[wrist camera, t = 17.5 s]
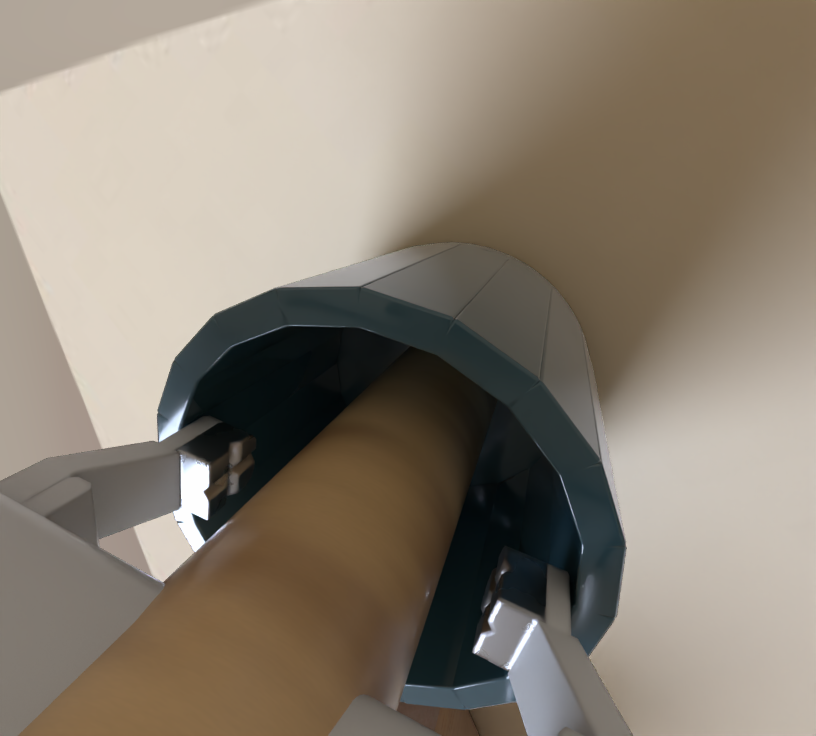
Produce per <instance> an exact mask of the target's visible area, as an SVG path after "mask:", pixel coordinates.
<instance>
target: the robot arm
mask: <svg viewBox="0 0 816 736" xmlns="http://www.w3.org/2000/svg"><path fill="white" fill-rule="evenodd" d="M255 449H256V438H255V437H254V436H253V435H251V434H249V433H247V432H245V431H242V430H240V429H238V428H236V427H234V426H232V425H230V424H227V423H225V422H222V421H220V420H218V419H216V418H214V417H212V416H210V415H209V416H203V417H201V418H199V419H198V420H196V421H194V422H192V423H191V424H189V425H187V426H186V427H184V428H182V429H181V430H179V431H177V432H176V433H174V434H172V435H170V436H169V437H167V438H165V439H164V440H162V441H160V442H159V443H158V442H155V441H149V442H143V443H136V444H130V445H124V446H118V447H112V448H106V449H101V450H94V451H87V452H81V453H76V454H69V455H63V456H57V457H51V458H46V459H44V460H42V461H40V462H38V463H36V464H34V465H32V466H30V467H28V468H26V469H24V470H22V471H19V472H18V473H15V474H13V475H11V476H9V477H7V478H5V479H3V480H1V481H0V736H18V735H19V734H20V733H21V732H22V731H23V730H24V729H25V728H26V727H27V726H28V725H29V724H30V723H31V722H32V721H33V720H34V719H35V718H36V717H37V716H38V715H39V714H41V713H42V712H43V711H44V710H45V709H46V708H47V707H48V706H49V705H50V704H51V703H52V702H53V701H54V700H55V699H56V698H57V697H58V696H59V695H60V694H61V693H62V692H63V691H64V690H65V689H66V688H67V687H68V686H69V685H70V684H71V683H72V682H73V681H75V680H76V679H77V678H78V677H79V676H80V675H81V674H82V673H83V672H84V671H85V670H86V669H87V668H88V667H89V666H90V665H91V664H92V663H93V662H94V661H95V660H96V659H97V658H98V657H99V656H100V655H101V654H102V653H103V652H104V651H105V650H106V649H107V648H109V647H110V646H111V645H112V644H113V643H114V642H115V641H116V640H117V639H118V638H119V637H120V636H121V635H122V634H123V633H124V632H125V631H126V630H127V629H128V628H129V627H130V626H131V625H132V624H133V623H134V622H135V621H136V620H137V619H138V618H139V616H140V615H141V614H142V613H143V612H144V611H145V609H146V608H147V607H148V606H149V605H150V603H151V602H152V601H153V600H154V599H155V598H156V597H157V595H158V594H159V593H160V592H161V591H162V590H163V588H164V586H165V583H163V582H161V581H160V580H158V579H156V578H154V577H152V576H151V575H148V574H147V573H145V572H143V571H141V570H140V569H138V568H136V567H134V566H132V565H130V564H129V563H126V562H125V561H123V560H121V559H120V558H118V557H116V556H114V555H112V554H111V553H109V552H107V551H105V550H103V549H101V548H100V545H99V539H101V538H103V537H106V536H109V535H112V534H114V533H117V532H120V531H123V530H125V529H128V528H131V527H133V526H136V525H139V524H141V523H144V522H147V521H150V520H152V519H155V518H158V517H160V516H163V515H166V514H168V513H171V512H174V511H177V510H179V509H180V508H182V509H184V510H186V511H189V512H191V513H193V514H195V515H197V516H199V517H202V518H204V519H206V520H208V519H210V518H211V517H212V516H213V515H214V514H215V513H216V512H217V511H218V510H220V509H221V508H222V507H223V506H224V505H225V504H226V500H227V496H229V495H233V494H237V493H239V492H240V491H241V490H242V489H243V488H244V487H245V486H246V484H247V483H248V481H249V480H250V478H251V476H252V473H253V470H254V465H255V461H254V459H253V457H252V454H251V452H252V451H254V450H255ZM481 610H482V613H483V614H482V616H481V619H480V621H479V623H478V625H477V630H476V635H475V640H474V646H473V651H472V652H473V653H475V654H476V655H478V656H480V657H482V658H484V659H486V660H488V661H490V662H491V663H493V664H495V665H497V666H499V667H501V668H503V669H505V670H506V671H508V676H509V679H510V682H511V685H512V688H513V692H514V695H515V698H516V701H517V704H518V707H519V711H520V714H521V717H522V720H523V723H524V726H525V730H526V733H527V736H633V735H632V733H631V731H630V729H629V728H628V726H627V724H626V722H625V721H624V719H623V717H622V715H621V714H620V712H619V710H618V708H617V707H616V705H615V703H614V701H613V700H612V698H611V696H610V694H609V693H608V691H607V689H606V687H605V685H604V684H603V682H602V680H601V678H600V677H599V675H598V673H597V671H596V670H595V668H594V666H593V664H592V663H591V661H590V659H589V657H588V656H587V654H586V652H585V650H584V649H583V647H582V645H581V643H580V642H579V640H578V639H577V638H575V637H573V636H571V611H570V576H569V574H568V572H567V571H564V570H562V569H560V568H557V567H555V566H552V565H550V564H548V563H545V562H542V561H540V560H538V559H535V558H533V557H531V556H528V555H526V554H524V553H521V552H519V551H517V550H514V549H512V548H510V547H507V546H504V548H503V549H502V551H501V553H500V555H499V559H498V564H497V568H495V569H493V570H492V573H491V575H490V577H489V580H488V583H487V586H486V588H485V592H484V596H483V600H482V605H481ZM328 736H441V735H440V734H438V733H436V732H434V731H432V730H431V729H429V728H427V727H425V726H423V725H421V724H420V723H418V722H416V721H414V720H412V719H410V718H409V717H407V716H405V715H403V714H401V713H400V712H398V711H396V710H394V709H392V708H390V707H389V706H387V705H385V704H383V703H381V702H380V701H378V700H376V699H374V698H372V697H370V696H369V695H364V694H363V695H359V696H357V697H356V698H355V699H354V700H353V701H352V703H351V704H350V706H349V707H348V708H347V710H346V711H345V713H344V714H343V715H342V717H341V718H340V719H339V721H338V722H337V724H336V725H335V726H334V728H333V729H332V731H331V732H330V733H329V735H328Z"/></svg>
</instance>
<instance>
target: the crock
mask: <svg viewBox="0 0 816 736" xmlns="http://www.w3.org/2000/svg"><path fill="white" fill-rule="evenodd" d="M410 346H412V347H414V348H417V349H420V350H423V351H426V352H429V353H431V354H434V355H437V356H438V357H440V358H441V359H442V360H444V361H445V362H447V363H448V364H449V365H451V366H452V367H453V368H455V369H456V370H458V371H459V372H460V373H462V374H463V375H464V376H466V377H467V378H468V379H470V380H471V381H473V382H474V383H475V384H477V385H478V386H479V387H481V388H482V389H484V390H485V391H486V392H488V393H489V394H490V395H492V396H493V397H495V398H496V399H497V403H496V406H495V409H494V412H493V415H492V418H491V421H490V425H489V428H488V431H487V434H486V437H485V440H484V443H483V446H482V449H481V452H480V455H479V458H478V461H477V465H476V468H475V471H474V474H473V477H472V480H471V483H470V486H469V489H468V492H467V495H466V498H465V502H464V505H463V508H462V511H461V514H460V517H459V520H458V523H457V526H456V529H455V532H454V535H453V539H452V542H451V545H450V548H449V551H448V554H447V557H446V560H445V563H444V566H443V569H442V572H441V576H440V579H439V582H438V585H437V588H436V591H435V594H434V597H433V600H432V603H431V606H430V609H429V612H428V616H427V619H426V622H425V625H424V628H423V631H422V634H421V637H420V640H419V643H418V646H417V649H416V653H415V656H414V659H413V662H412V665H411V668H410V671H409V674H408V677H407V680H406V683H405V686H404V690H403V693H402V696H401V699H400V702H405V703H406V704H412V705H422V706H431V707H441V708H450V709H459V710H466V709H467V710H470V709H476V708H482V707H488V706H495V705H501V704H507V703H513V702H517V701H516V698H515V695H514V692H513V688H512V685H511V682H510V679H509V676H508V671H506V670H505V669H503V668H501V667H499V666H497V665H495V664H493V663H491V662H490V661H488V660H486V659H484V658H482V657H480V656H478V655H476V654H475V653H473V652H472V651H473V646H474V640H475V635H476V630H477V625H478V623H479V621H480V619H481V616H482V614H483V613H482V610H481V605H482V600H483V596H484V592H485V588H486V586H487V583H488V580H489V577H490V575H491V573H492V570H493V569H495V568H497V564H498V559H499V555H500V553H501V551H502V549H503V548H504V546H507V547H510V548H512V549H514V550H517V551H519V552H521V553H524V554H526V555H528V556H531V557H533V558H535V559H538V560H540V561H542V562H545V563H548V564H550V565H552V566H555V567H557V568H560V569H562V570H564V571H567V572H568V574H569V576H570V611H571V636H573V637H575V638H577V639H578V640H579V642H580V643H581V645H582V647H583V649H584V650H585V652H586V654H587V656H588V657H589V656H590V654H591V653H592V651H593V650H594V649H595V647H596V646H597V644H598V643H599V642H600V640H601V639H602V637H603V636H604V635H605V633H606V632H607V630H608V629H609V628H610V626H611V625H612V623H613V622H614V620H615V618H616V617H617V613H618V606H619V599H620V592H621V585H622V578H623V571H624V564H625V556H626V549H627V547H626V539H625V534H624V528H623V523H622V518H621V512H620V507H619V502H618V496H617V491H616V486H615V481H614V475H613V470H612V465H611V459H610V454H609V449H608V443H607V438H606V433H605V428H604V422H603V417H602V412H601V406H600V401H599V396H598V390H597V385H596V380H595V374H594V370H593V367H592V363H591V360H590V356H589V352H588V347H587V343H586V339H585V337H584V334H583V331H582V329H581V327H580V324H579V322H578V320H577V318H576V317H575V315H574V313H573V311H572V310H571V308H570V306H569V305H568V303H567V302H566V301H565V299H564V298H563V297H562V296H561V294H560V293H559V292H558V291H557V289H556V288H555V287H553V286H552V285H551V284H550V283H549V282H548V281H547V280H546V279H545V278H544V277H543V276H542V275H541V274H539V273H538V272H536V271H535V270H534V269H532V268H531V267H529V266H528V265H527V264H525V263H523V262H521V261H519V260H518V259H516V258H514V257H512V256H510V255H508V254H505V253H503V252H500V251H497V250H494V249H492V248H488V247H484V246H479V245H475V244H469V243H456V242H447V243H432V244H428V245H417V246H412V247H409V248H406V249H402V250H399V251H396V252H393V253H389V254H386V255H383V256H379V257H376V258H373V259H369V260H366V261H363V262H359V263H356V264H353V265H349V266H346V267H343V268H339V269H336V270H333V271H329V272H326V273H323V274H319V275H316V276H313V277H310V278H306V279H303V280H300V281H296V282H293V283H290V284H286V285H283V286H280V287H276V288H273V289H271V290H269V291H266V292H264V293H262V294H259V295H257V296H255V297H253V298H250V299H248V300H246V301H243V302H241V303H239V304H236V305H234V306H232V307H229V308H227V309H225V310H222V311H220V312H218V313H215V314H214V316H212V317H211V318H210V319H209V320H208V321H207V322H206V324H205V325H204V326H203V327H202V328H201V329H200V330H199V331H198V333H197V334H196V335H195V336H194V337H193V338H192V339H191V340H190V342H189V343H188V344H187V345H186V346H185V347H184V348H183V349H182V351H181V352H180V353H179V354H178V355H177V356H176V357H175V360H174V361H173V363H172V366H171V369H170V372H169V376H168V379H167V382H166V385H165V388H164V391H163V394H162V397H161V401H160V404H159V407H158V414H157V426H158V443H159V442H160V441H162V440H164V439H165V438H167V437H169V436H170V435H172V434H174V433H176V432H177V431H179V430H181V429H182V428H184V427H186V426H187V425H189V424H191V423H192V422H194V421H196V420H198V419H199V418H201V417H203V416H209V415H210V416H212V417H214V418H216V419H218V420H220V421H222V422H225V423H227V424H230V425H232V426H234V427H236V428H238V429H240V430H242V431H245V432H247V433H249V434H251V435H253V436H254V437H255V438H256V449H255V450H254V451H252V452H251V454H252V457H253V459H254V461H255V465H254V470H253V473H252V476H251V478H250V480H249V481H248V483H247V484H246V486H245V487H244V488H243V489H242V490H241V491H240V492H239V493H237V494H233V495H229V496H227V500H226V504H225V505H224V506H223V507H222V508H221V509H220V510H218V511H217V512H216V513H215V514H214V515H213V516H212V517H211V518H210V519H208V520H206V519H204V518H202V517H199V516H197V515H195V514H193V513H191V512H189V511H186V510H184V509H182V508H180V509H179V510H177V511H174V512H173V514H174V517H175V520H176V521H177V523H178V525H179V527H180V528H181V530H182V532H183V533H184V535H185V537H186V539H187V540H188V542H189V544H190V545H191V547H192V549H193V550H194V552H196V551H197V550H198V549H199V548H200V547H201V546H202V545H203V544H204V543H205V542H206V541H207V540H208V539H209V538H210V537H211V536H212V535H213V534H214V533H215V532H216V531H217V530H219V529H220V528H221V527H222V526H223V525H224V524H225V523H226V522H227V521H228V520H229V519H230V518H231V517H232V516H233V515H234V514H235V513H236V512H237V511H238V510H239V509H241V508H242V507H243V506H244V505H245V504H246V503H247V502H248V501H249V500H250V499H251V498H252V497H253V496H254V495H255V494H256V493H257V492H258V491H259V490H260V489H261V488H262V487H264V486H265V485H266V484H267V483H268V482H269V481H270V480H271V479H272V478H273V477H274V476H275V475H276V474H277V473H278V472H279V471H280V470H281V469H282V468H283V467H284V466H286V465H287V464H288V463H289V462H290V461H291V460H292V459H293V458H294V457H295V456H296V455H297V454H298V453H299V452H300V451H301V450H302V449H303V448H304V447H305V446H306V445H307V444H309V443H310V442H311V441H312V440H313V439H314V438H315V437H316V436H317V435H318V434H319V433H320V432H321V431H322V430H323V429H324V428H325V427H326V426H327V425H328V424H329V423H331V422H332V421H333V420H334V419H335V418H336V417H337V416H338V415H339V414H340V413H341V412H342V411H343V410H344V409H345V408H346V407H347V406H348V405H349V404H350V403H351V402H353V401H354V400H355V399H356V398H357V397H358V396H359V395H360V394H361V393H362V392H363V391H364V390H365V389H366V388H367V387H368V386H369V385H370V384H371V383H372V382H373V381H374V380H376V379H377V378H378V377H379V376H380V375H381V374H382V373H383V372H384V371H385V370H386V369H387V368H388V367H389V366H390V365H391V364H392V363H393V362H394V361H395V360H396V359H398V358H399V357H400V356H401V355H402V354H403V353H404V352H405V351H406V350H407V349H408V348H409V347H410Z"/></svg>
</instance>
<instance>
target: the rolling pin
mask: <svg viewBox="0 0 816 736" xmlns="http://www.w3.org/2000/svg"><path fill="white" fill-rule="evenodd" d="M496 403H497V399H496V398H495V397H493V396H492V395H490V394H489V393H488V392H486V391H485V390H484V389H482V388H481V387H479V386H478V385H477V384H475V383H474V382H473V381H471V380H470V379H468V378H467V377H466V376H464V375H463V374H462V373H460V372H459V371H458V370H456V369H455V368H453V367H452V366H451V365H449V364H448V363H447V362H445V361H444V360H442V359H441V358H440V357H438V356H437V355H434V354H431V353H429V352H426V351H423V350H420V349H417V348H414V347H412V346H410V347H409V348H408V349H407V350H406V351H405V352H404V353H403V354H402V355H401V356H400V357H399V358H398V359H396V360H395V361H394V362H393V363H392V364H391V365H390V366H389V367H388V368H387V369H386V370H385V371H384V372H383V373H382V374H381V375H380V376H379V377H378V378H377V379H376V380H374V381H373V382H372V383H371V384H370V385H369V386H368V387H367V388H366V389H365V390H364V391H363V392H362V393H361V394H360V395H359V396H358V397H357V398H356V399H355V400H354V401H353V402H351V403H350V404H349V405H348V406H347V407H346V408H345V409H344V410H343V411H342V412H341V413H340V414H339V415H338V416H337V417H336V418H335V419H334V420H333V421H332V422H331V423H329V424H328V425H327V426H326V427H325V428H324V429H323V430H322V431H321V432H320V433H319V434H318V435H317V436H316V437H315V438H314V439H313V440H312V441H311V442H310V443H309V444H307V445H306V446H305V447H304V448H303V449H302V450H301V451H300V452H299V453H298V454H297V455H296V456H295V457H294V458H293V459H292V460H291V461H290V462H289V463H288V464H287V465H286V466H284V467H283V468H282V469H281V470H280V471H279V472H278V473H277V474H276V475H275V476H274V477H273V478H272V479H271V480H270V481H269V482H268V483H267V484H266V485H265V486H264V487H262V488H261V489H260V490H259V491H258V492H257V493H256V494H255V495H254V496H253V497H252V498H251V499H250V500H249V501H248V502H247V503H246V504H245V505H244V506H243V507H242V508H241V509H239V510H238V511H237V512H236V513H235V514H234V515H233V516H232V517H231V518H230V519H229V520H228V521H227V522H226V523H225V524H224V525H223V526H222V527H221V528H220V529H219V530H217V531H216V532H215V533H214V534H213V535H212V536H211V537H210V538H209V539H208V540H207V541H206V542H205V543H204V544H203V545H202V546H201V547H200V548H199V549H198V550H197V551H196V552H194V553H193V554H192V555H191V556H190V557H189V558H188V559H187V560H186V561H185V562H184V563H183V564H182V565H181V566H180V567H179V568H178V569H177V570H176V571H175V572H174V573H172V574H171V575H170V576H169V577H168V578H167V579H166V580H165V581H164V582H163V583H165V586H164V588H163V590H162V591H161V592H160V593H159V594H158V595H157V597H156V598H155V599H154V600H153V601H152V602H151V603H150V605H149V606H148V607H147V608H146V609H145V611H144V612H143V613H142V614H141V615H140V616H139V618H138V619H137V620H136V621H135V622H134V623H133V624H132V625H131V626H130V627H129V628H128V629H127V630H126V631H125V632H124V633H123V634H122V635H121V636H120V637H119V638H118V639H117V640H116V641H115V642H114V643H113V644H112V645H111V646H110V647H109V648H107V649H106V650H105V651H104V652H103V653H102V654H101V655H100V656H99V657H98V658H97V659H96V660H95V661H94V662H93V663H92V664H91V665H90V666H89V667H88V668H87V669H86V670H85V671H84V672H83V673H82V674H81V675H80V676H79V677H78V678H77V679H76V680H75V681H73V682H72V683H71V684H70V685H69V686H68V687H67V688H66V689H65V690H64V691H63V692H62V693H61V694H60V695H59V696H58V697H57V698H56V699H55V700H54V701H53V702H52V703H51V704H50V705H49V706H48V707H47V708H46V709H45V710H44V711H43V712H42V713H41V714H39V715H38V716H37V717H36V718H35V719H34V720H33V721H32V722H31V723H30V724H29V725H28V726H27V727H26V728H25V729H24V730H23V731H22V732H21V733H20V734H19V735H18V736H328V735H329V733H330V732H331V731H332V729H333V728H334V726H335V725H336V724H337V722H338V721H339V719H340V718H341V717H342V715H343V714H344V713H345V711H346V710H347V708H348V707H349V706H350V704H351V703H352V701H353V700H354V699H355V698H356V697H357V696H359V695H363V694H364V695H369V696H370V697H372V698H374V699H376V700H378V701H380V702H381V703H383V704H385V705H387V706H389V707H390V708H392V709H394V710H396V711H397V708H398V705H399V702H400V699H401V696H402V693H403V690H404V686H405V683H406V680H407V677H408V674H409V671H410V668H411V665H412V662H413V659H414V656H415V653H416V649H417V646H418V643H419V640H420V637H421V634H422V631H423V628H424V625H425V622H426V619H427V616H428V612H429V609H430V606H431V603H432V600H433V597H434V594H435V591H436V588H437V585H438V582H439V579H440V576H441V572H442V569H443V566H444V563H445V560H446V557H447V554H448V551H449V548H450V545H451V542H452V539H453V535H454V532H455V529H456V526H457V523H458V520H459V517H460V514H461V511H462V508H463V505H464V502H465V498H466V495H467V492H468V489H469V486H470V483H471V480H472V477H473V474H474V471H475V468H476V465H477V461H478V458H479V455H480V452H481V449H482V446H483V443H484V440H485V437H486V434H487V431H488V428H489V425H490V421H491V418H492V415H493V412H494V409H495V406H496Z"/></svg>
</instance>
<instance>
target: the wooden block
mask: <svg viewBox="0 0 816 736" xmlns="http://www.w3.org/2000/svg"><path fill="white" fill-rule="evenodd" d="M397 711H398V712H400V713H401V714H403V715H405V716H407V717H409V718H410V719H412V720H414V721H416V722H418V723H420V724H421V725H423V726H425V727H427V728H429V729H431V730H432V731H434V732H436V733H438V734H440V735H441V736H479V734H478V732H477V729H476V727H475V724H474V722H473V720H472V717H471V715H470V713H469V710H467V709H466V710H459V709H450V708H441V707H431V706H422V705H412V704H406V703H405V702H399V705H398V708H397Z"/></svg>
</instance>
